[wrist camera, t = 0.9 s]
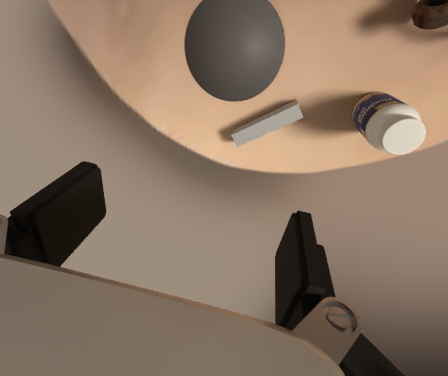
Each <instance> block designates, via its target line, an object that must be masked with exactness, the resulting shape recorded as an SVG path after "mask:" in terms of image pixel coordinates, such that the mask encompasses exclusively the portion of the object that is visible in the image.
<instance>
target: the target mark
mask: <svg viewBox="0 0 448 376" xmlns="http://www.w3.org/2000/svg"><path fill="white" fill-rule="evenodd" d="M284 49H285V38H284V30H283V26H282V23H281V20H280V18H279V15H278V14H277V12H276V10H275V9H274V7H273V6H272V5H271V3H270V2H269V1H268V0H204V1H203V2H202V3H201V4H200V5H199V6H198V8H197V9H196V10H195V12H194V14H193V16H192V18H191V20H190V23H189V26H188V29H187V35H186V55H187V61H188V64H189V67H190V70H191V72H192V74H193V76H194V77H195V79H196V81H197V82H198V83H199V85H200V86H201V87H202V88H203V89H204V90H206V91H207V92H208V93H209V94H211V95H213V96H214V97H217V98H219V99H222V100H226V101H243V100H247V99H250V98H253V97H255V96H256V95H258V94H260V93H261V92H262V91H264V90H265V89H266V88H267V87H268V86H269V85H270V84H271V82H272V81H273V80H274V78H275V77H276V75H277V73H278V71H279V69H280V66H281V64H282V60H283V56H284Z"/></svg>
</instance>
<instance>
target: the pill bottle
mask: <svg viewBox="0 0 448 376" xmlns="http://www.w3.org/2000/svg"><path fill="white" fill-rule="evenodd" d="M352 120H353V123H354V125H355V126H356V128H357V129H358V130H359V131H360V133H361V134H362V135H363V136H364V137H365V138H366V140H367V141H368V142H369V143H370V144H371V145H372V146H373V147H375V148H376V149H379V150H383V151H387V152H388V153H391V154H394V155H402V154H407V153H409V152H412V151H413V150H415V149H416V148H417V147H419V146H420V145H421V143H422V142H423V140H424V138H425V135H426V129H425V126H424V125H423V123H422V122H421V120H420V116H419V114H418V112H417V111H416V110H415V109H414V108H412V107H411V106H409V105H407V104H405V103H404V102H402V101H400V100H398V99H396V98H395V97H393V96H391V95H389V94H387V93H383V92H375V93H371V94H368V95H367V96H365V97H363V98H362V99H361V100H360V101H359V102H358V103H357V104H356V106H355V107H354V110H353V113H352Z"/></svg>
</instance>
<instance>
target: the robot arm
mask: <svg viewBox="0 0 448 376" xmlns="http://www.w3.org/2000/svg"><path fill="white" fill-rule="evenodd" d="M10 214H11V216H10V217H9V218H6V217H5V216H3V215H0V376H404V375H403V374H402V373H401V372H400V371H399V370H398V369H397V368H396V367H395V366H394V365H393V364H392V363H391V362H390V361H389V360H388V359H387V358H386V357H385V356H384V355H383V354H382V353H381V352H380V351H379V350H378V349H377V348H376V347H375V346H374V345H373V344H372V343H371V342H370V341H369V340H368V339H367V338H366V337H364V335H363V334H361V330H362V323H361V320H360V317H359V315H358V314H357V312H356V311H355V310H354V309H353V308H352V306H350V305H349V304H348V303H347V302H345V301H344V300H341V299H339V298H336V297H335V293H334V289H333V284H332V280H331V276H330V271H329V267H328V263H327V258H326V254H325V250H324V247H323V246H322V245H318V244H317V242H316V237H315V232H314V227H313V222H312V217H311V214H310V213H306V212H302V211H297V213H293V214H292V215H291V217H290V220H289V222H288V225H287V227H286V230H285V232H284V235H283V237H282V240H281V242H280V244H279V247H278V250H277V252H276V256H275V304H276V305H275V310H276V311H275V312H276V313H275V316H276V324H273V323H270V322H267V321H264V320H261V319H258V318H255V317H251V316H247V315H243V314H240V313H237V312H233V311H229V310H226V309H222V308H218V307H214V306H211V305H207V304H203V303H199V302H195V301H192V300H188V299H184V298H180V297H176V296H172V295H168V294H164V293H160V292H157V291H153V290H148V289H145V288H141V287H137V286H133V285H130V284H126V283H121V282H118V281H114V280H110V279H106V278H102V277H98V276H94V275H90V274H86V273H82V272H77V271H74V270H70V269H66V268H62V267H60V266H61V265H62V264H63V263H64V261H65V260H66V259H67V258H68V257H69V256H70V255H71V254H72V253H73V252H74V250H75V249H76V248H77V247H78V246H79V245H80V244H81V242H83V240H84V239H85V238H86V237H87V236H88V235H89V234H90V233H91V232H92V230H93V229H94V228H95V227H96V226H97V225H98V224H99V223H100V221H101V220H102V219H103V218H104V217H105V214H106V206H105V199H104V192H103V184H102V176H101V170H100V168H98V166H97V165H96V164H94V163H89V162H85V161H84V162H81V163H79V164H78V165H77V166H75V167H74V168H72V169H71V170H69V171H68V172H66V173H65V174H64V175H62V176H61V177H59V178H58V179H56V180H55V181H53V182H52V183H51V184H49V185H48V186H46V187H45V188H43V189H42V190H40V191H39V192H37V193H36V194H35V195H33V196H32V197H30V198H29V199H27V200H26V201H24V202H23V203H22V204H20V205H19V206H17V207H16V208H14V209H13V210H12V211H10Z"/></svg>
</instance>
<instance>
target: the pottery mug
mask: <svg viewBox="0 0 448 376" xmlns="http://www.w3.org/2000/svg"><path fill="white" fill-rule="evenodd" d="M412 19H413V22H414V25H415V26H417V27H418V28H421V29H436V28H440V27H443V26H446V25H448V0H420V1H419V2H418V3H417V5H416V7H415V8H414V10H413V13H412Z"/></svg>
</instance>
